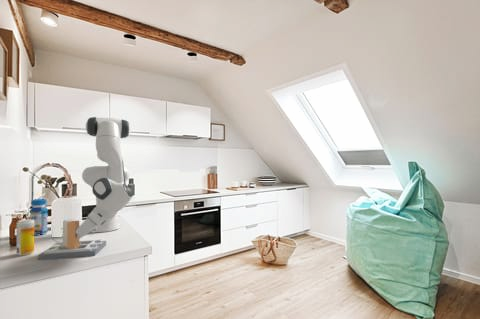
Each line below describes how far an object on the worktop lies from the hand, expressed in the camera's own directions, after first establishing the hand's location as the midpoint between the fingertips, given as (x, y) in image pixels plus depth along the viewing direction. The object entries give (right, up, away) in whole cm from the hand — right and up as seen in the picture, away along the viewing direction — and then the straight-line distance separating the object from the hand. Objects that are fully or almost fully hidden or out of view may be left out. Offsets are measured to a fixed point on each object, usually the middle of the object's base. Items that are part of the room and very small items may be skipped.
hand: (78, 237), depth 114 cm
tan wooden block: (-2, -5, -1) cm, 5 cm away
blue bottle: (-44, -8, +32) cm, 55 cm away
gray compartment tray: (-3, -7, +2) cm, 8 cm away
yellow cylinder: (-24, -8, 0) cm, 25 cm away
